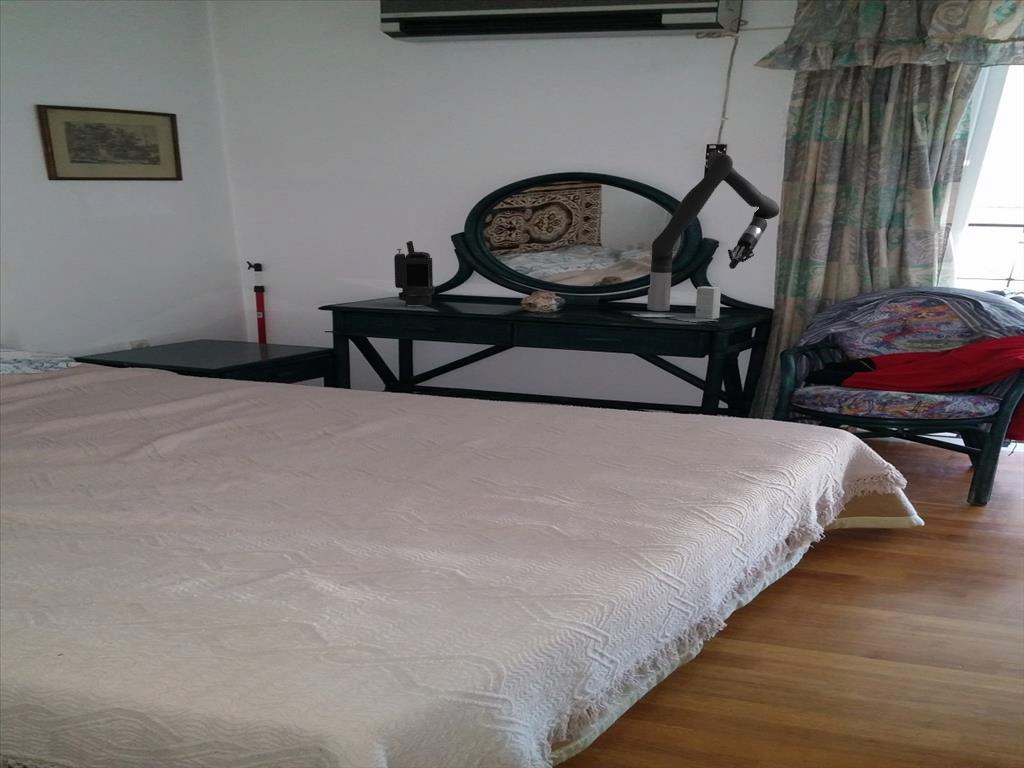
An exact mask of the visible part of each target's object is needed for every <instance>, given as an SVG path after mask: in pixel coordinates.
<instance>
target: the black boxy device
mask: <svg viewBox="0 0 1024 768" xmlns="http://www.w3.org/2000/svg"><path fill="white" fill-rule="evenodd" d="M413 243H414V242H413V240H409V241H407V242H406V248H407V252H408V253H407V254H406V255H405V253H401V251H402V249H403V248H397V249H396V251H398V253H397V254H395V255H394V258H393V259H394V261H393V263H394V265H393V266H394V286H395V288H396V289H401V290H402V295H404V296H405V305H406V304H407V305H427V304H431V303H432V301H433V299H432V298H433V297H432V295H435V285H434V284H433V283H434V281H433V280H434V279H433V278H434V277H433V257H431V254H430V253H428V252H425V251H415V248H414V244H413Z"/></svg>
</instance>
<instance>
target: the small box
mask: <svg viewBox="0 0 1024 768" xmlns="http://www.w3.org/2000/svg"><path fill="white" fill-rule="evenodd" d="M721 289H722V288H721V287H719V286H718V287H716V286H697V288H696V298H695V299H696V300H695V302H696V303H695V316H694V317H698V318H705V319H706V318H707V319H713V320H716V319H719V318H720V309H721V292H722V290H721Z"/></svg>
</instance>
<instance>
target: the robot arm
mask: <svg viewBox="0 0 1024 768" xmlns="http://www.w3.org/2000/svg"><path fill="white" fill-rule="evenodd" d="M706 163H707V164H706V165H707V169H708V170H707V172H705V173H706V174H705V175H704V177H703V178H702V179H701V180H700V181H699V182H698V183H697V184H695V186H693V188H691V189H690V190H689V192H687V193H686V194H685V196H684V198H683V199H682V200H681V202H680V203H679V205H678V206H677V207H676V209H675V211H674V212H673V215H672V216H671V219H670V220H669V222H668V224H667V225H666V226H665V228H664V229H663V231H661V233H659V235H658V236H657V237H656V238H654V240H653V241H652V243H651V264H650V279H649V281H650V283H649V288H648V289H647V306H646V308H647V310H649V311H655V312H664V311H665V312H666V311H667V312H668V311H670V307H671V306H670V304H671V290H672V288H671V287H672V268H673V256H674V255H673V253H674V251H673V250H674V247H675V245H676V243H677V241H678V240H679V238H680V236H681V235H682V234H683V232H684V231H686V229H687V228H688V227H689V226H690V225H691V224H692V223H693V221H695V219H696V218H697V217H698V215H699V213H700V212H701V211H702V209H703V208H704V207H705V205H706V204H707V202H708V201H709V199H710V198H711V196H712V195H713V193H715V190H716V189H717V187H718V186H719V185H720V184H721V183H722V181H724V182H725V183H726V184H727V185H728V186H729V187H731V189H732V190H734V192H735V193H736V194H737V195H738V196H739V197H740V198H741V199H742V200H743V201H744V202H745V204H746V203H747V205H748V206H750V207H751V208H758V207H759V209H758V210H757V211H756V212H755V211H754V213H753V215H752V218H751V219H752V220H751V221H750V223H749V225H748V226H747V227H746V229H745V230H744V231H743V233H741V235H740V237H739V239H738V241H737V243H736V245H735V246H734V248H732V249H731V248H728V250H727V254H728V256H729V259H730V262H729V264H728V266H729V269H730V270H734V269H736V267H737V266H738V265H739V264H740V263H744V262H746V261H747V260H750V259H751V258H753V257H754V256H755V253H754V249H755V248H756V246H757V244H758V243H759V241H760V239H761V238H762V236H763V234H764V232H766V231H765V230H766V229H767V227H768V222H767V220H765V219H768V220H771V219H773V218H775V217H777V216H779V213H780V207H779V204H778V203H777V202H776V201H775V200H773V199H772V198H770V197H769V196H767V195H765V194H763V193H762V192H761V191H760V190H759V189H758V188H757V187H756V186H754V184H752V183H751V182H750V181H749V180H747V179H746V178H745V177H744V176H742V175H741V174H740V173H739V172H738V171H737V170H736V169H735V168H734V167H733V166H734V162H733V159H732V157H731V156H730V155H728V154H727V153H724V152H714V153H713V154H711V155H710V156H709V157H708V159H707V161H706Z"/></svg>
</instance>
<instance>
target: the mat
mask: <svg viewBox="0 0 1024 768" xmlns="http://www.w3.org/2000/svg"><path fill="white" fill-rule="evenodd" d="M675 317H676V318H677V319H678V320H682V321H681V322H685V321H689V322H688V323H691V322H697V321H715V322H719V319H706V318H698V317H695V316H690V315H677V316H675ZM678 320H677V321H678Z"/></svg>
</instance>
